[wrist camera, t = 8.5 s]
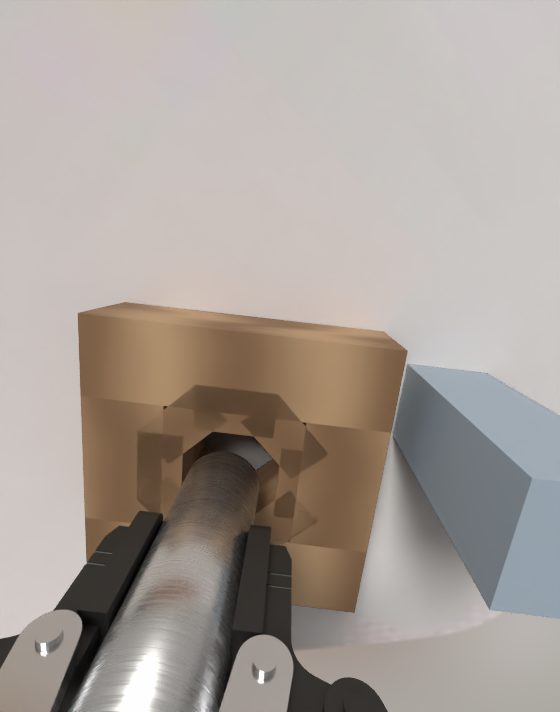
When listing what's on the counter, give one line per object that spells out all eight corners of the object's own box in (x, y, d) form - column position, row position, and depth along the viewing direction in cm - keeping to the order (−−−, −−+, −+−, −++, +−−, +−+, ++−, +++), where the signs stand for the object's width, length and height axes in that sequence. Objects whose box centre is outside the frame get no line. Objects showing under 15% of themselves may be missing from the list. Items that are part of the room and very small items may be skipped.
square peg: (486, 373, 18) (702, 498, 9) (468, 444, 19) (641, 629, 10) (407, 364, 18) (532, 478, 9) (392, 435, 19) (489, 609, 10)
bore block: (383, 331, 18) (407, 351, 14) (343, 548, 21) (354, 612, 17) (124, 302, 18) (77, 313, 14) (125, 521, 21) (87, 578, 18)
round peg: (262, 456, 15) (199, 840, 5) (255, 519, 15) (188, 958, 6) (189, 447, 15) (-20, 812, 5) (185, 510, 15) (-1, 934, 6)
